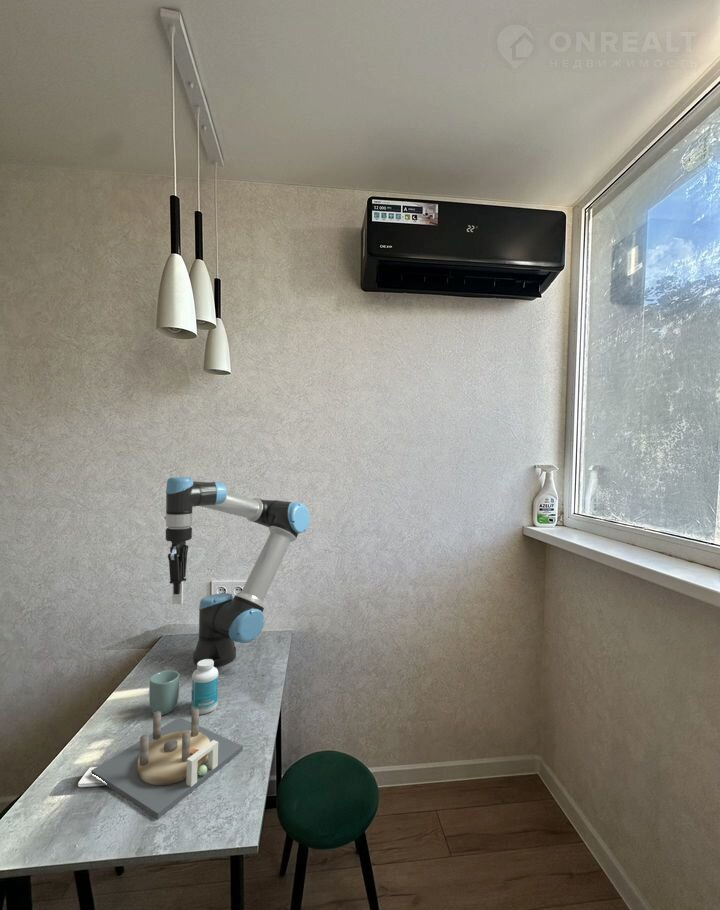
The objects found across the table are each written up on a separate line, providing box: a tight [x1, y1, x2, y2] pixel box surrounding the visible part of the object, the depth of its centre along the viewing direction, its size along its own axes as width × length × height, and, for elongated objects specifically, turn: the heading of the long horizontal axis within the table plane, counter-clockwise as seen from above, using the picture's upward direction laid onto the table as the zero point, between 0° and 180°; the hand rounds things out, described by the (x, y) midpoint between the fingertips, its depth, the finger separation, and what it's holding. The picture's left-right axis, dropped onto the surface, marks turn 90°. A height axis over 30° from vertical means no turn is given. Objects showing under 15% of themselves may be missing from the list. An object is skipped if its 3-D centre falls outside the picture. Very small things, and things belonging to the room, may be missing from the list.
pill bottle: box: [190, 659, 219, 715], centre depth 126 cm, size 8×7×14 cm
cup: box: [148, 669, 180, 716], centre depth 125 cm, size 8×8×10 cm
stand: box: [90, 716, 244, 820], centre depth 104 cm, size 24×24×7 cm
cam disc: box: [138, 709, 210, 785], centre depth 103 cm, size 17×16×8 cm
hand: (177, 603), depth 132 cm, fingers closed
